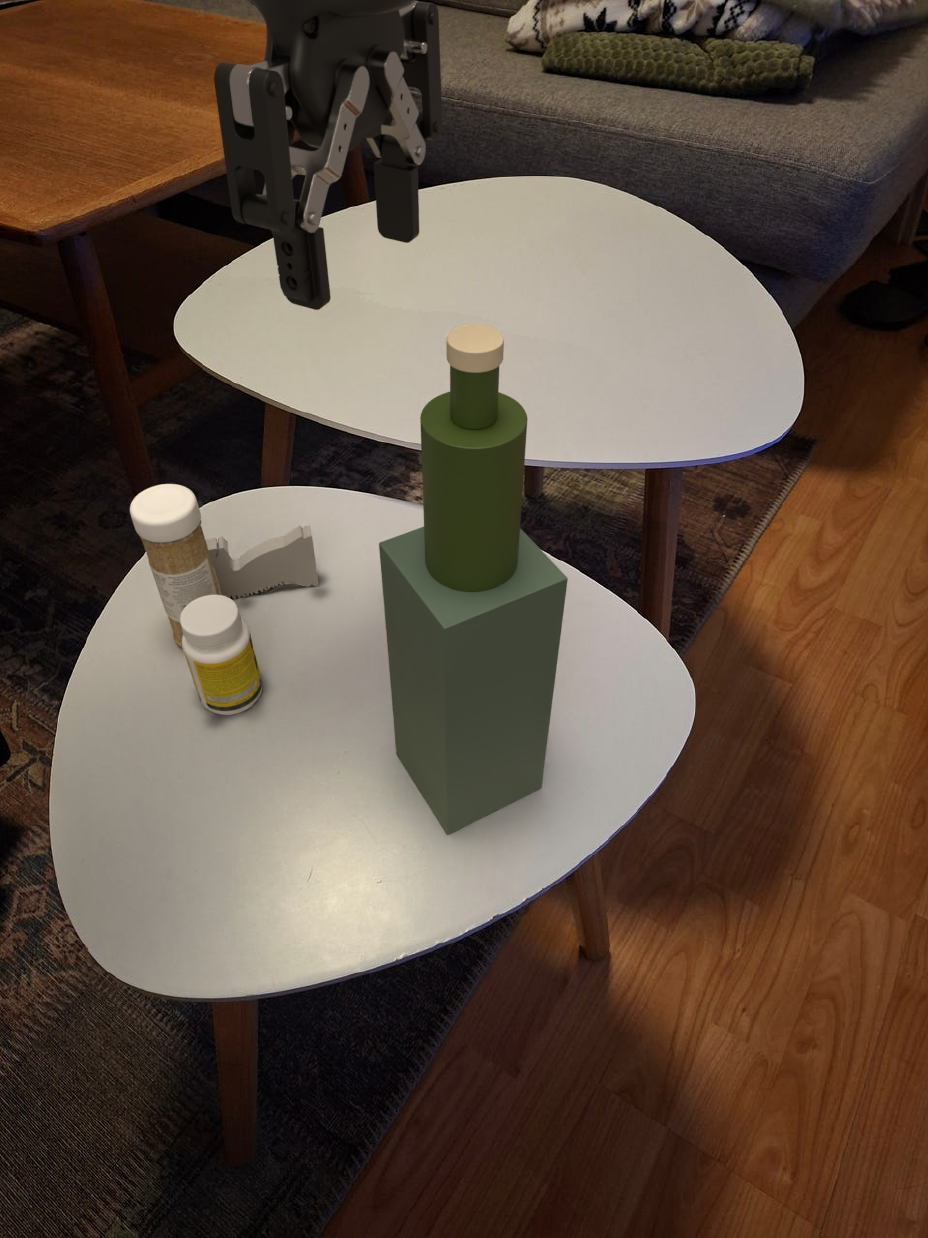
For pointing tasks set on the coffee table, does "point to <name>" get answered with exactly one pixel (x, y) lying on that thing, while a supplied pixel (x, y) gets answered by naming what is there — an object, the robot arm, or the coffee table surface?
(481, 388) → the olive bottle
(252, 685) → the supplement bottle
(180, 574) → the sprinkles bottle
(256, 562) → the grey tape dispenser
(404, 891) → the coffee table surface
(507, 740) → the pedestal
